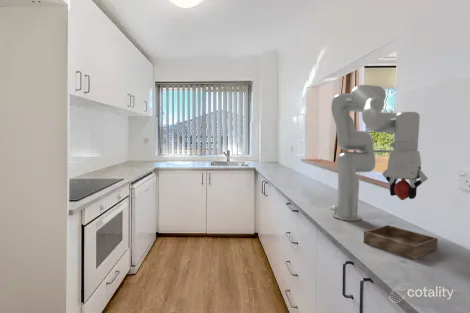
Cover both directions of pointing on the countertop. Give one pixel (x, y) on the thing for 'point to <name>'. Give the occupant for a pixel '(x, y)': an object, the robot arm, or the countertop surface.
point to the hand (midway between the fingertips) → (402, 196)
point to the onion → (402, 189)
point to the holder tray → (401, 241)
